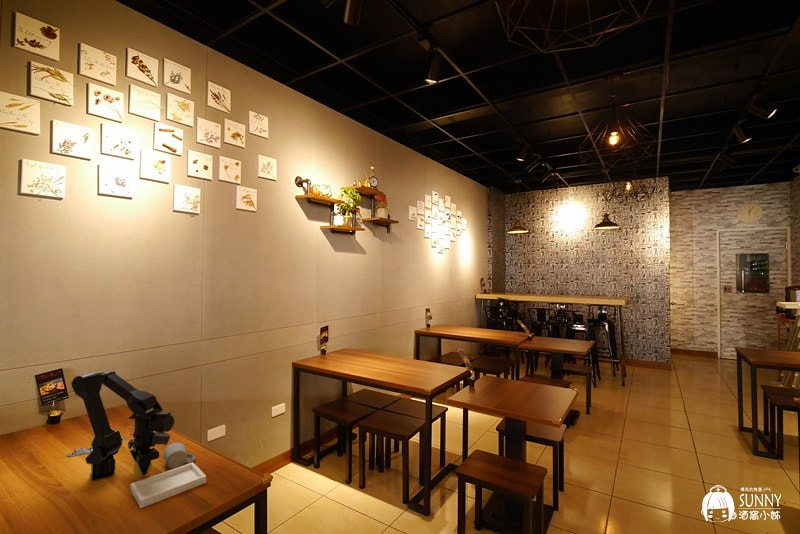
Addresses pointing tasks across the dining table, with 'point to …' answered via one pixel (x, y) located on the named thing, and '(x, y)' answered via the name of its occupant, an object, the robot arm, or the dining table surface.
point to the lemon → (138, 471)
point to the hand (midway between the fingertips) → (142, 471)
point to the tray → (167, 484)
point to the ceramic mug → (177, 455)
